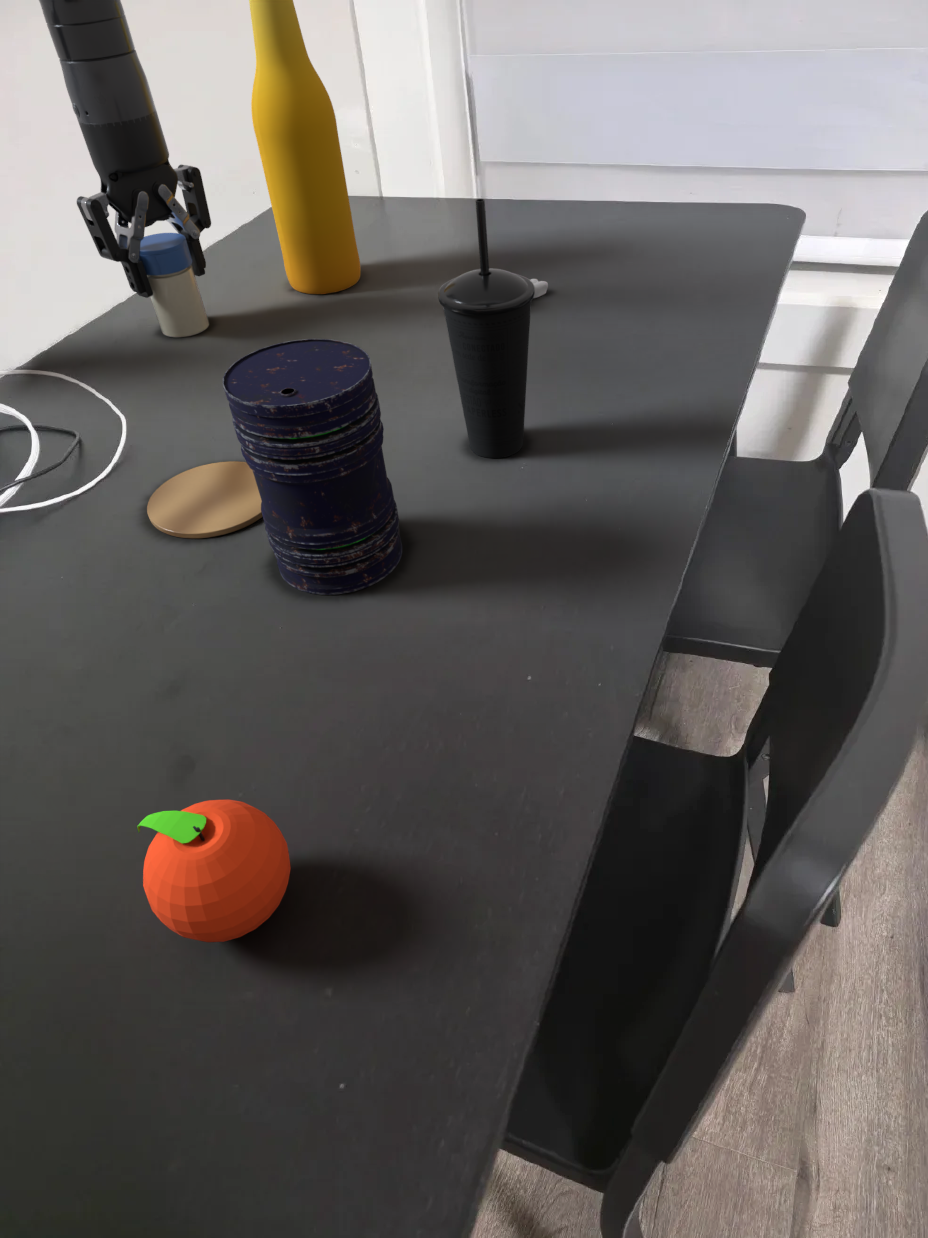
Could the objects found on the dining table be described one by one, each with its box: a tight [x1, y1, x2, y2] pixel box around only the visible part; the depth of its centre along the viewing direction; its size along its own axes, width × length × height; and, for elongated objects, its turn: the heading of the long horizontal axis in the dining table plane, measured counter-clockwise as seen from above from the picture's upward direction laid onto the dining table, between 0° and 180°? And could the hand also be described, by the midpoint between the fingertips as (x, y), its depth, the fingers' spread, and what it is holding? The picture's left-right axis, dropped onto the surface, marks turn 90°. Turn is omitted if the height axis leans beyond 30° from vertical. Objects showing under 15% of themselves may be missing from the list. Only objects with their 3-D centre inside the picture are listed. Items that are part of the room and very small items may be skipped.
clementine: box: [136, 799, 291, 943], centre depth 42 cm, size 8×7×7 cm
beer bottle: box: [248, 0, 362, 295], centre depth 96 cm, size 9×9×29 cm
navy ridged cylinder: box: [222, 338, 403, 596], centre depth 60 cm, size 10×10×15 cm
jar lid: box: [139, 232, 192, 276], centre depth 93 cm, size 6×6×2 cm
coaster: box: [146, 460, 263, 539], centre depth 72 cm, size 11×11×1 cm
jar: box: [147, 265, 210, 338], centre depth 95 cm, size 5×5×9 cm
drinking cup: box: [437, 198, 535, 459], centre depth 69 cm, size 8×8×20 cm
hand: (172, 284), depth 95 cm, fingers open, 6 cm apart
